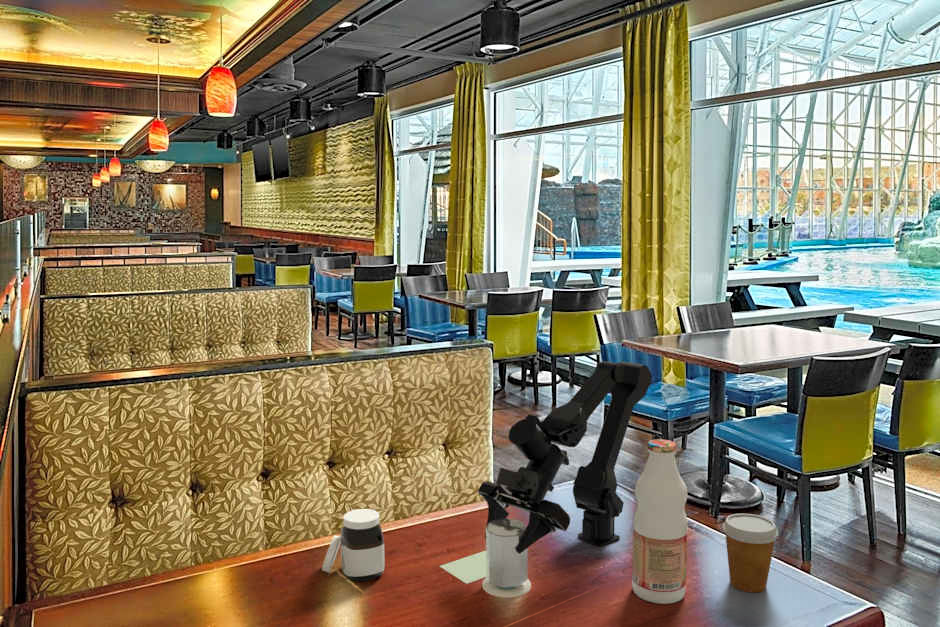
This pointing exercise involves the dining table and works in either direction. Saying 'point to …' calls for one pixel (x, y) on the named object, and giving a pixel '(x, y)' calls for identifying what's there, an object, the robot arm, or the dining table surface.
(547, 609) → the dining table surface
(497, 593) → the teal puck on dish
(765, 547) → the disposable coffee cup
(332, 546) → the spread jar
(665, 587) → the fruit juice
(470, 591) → the dining table surface
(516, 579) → the grey metal canister
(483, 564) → the sage placemat
